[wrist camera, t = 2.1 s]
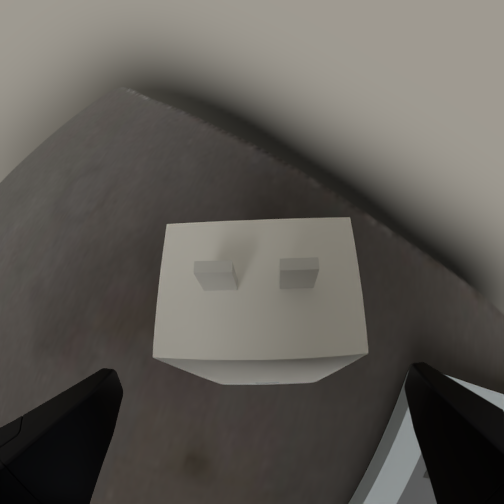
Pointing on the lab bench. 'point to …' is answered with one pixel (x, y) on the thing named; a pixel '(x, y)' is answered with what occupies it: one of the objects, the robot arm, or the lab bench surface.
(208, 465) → the lab bench surface
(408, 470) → the outlet plate
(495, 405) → the robot arm
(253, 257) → the adapter
